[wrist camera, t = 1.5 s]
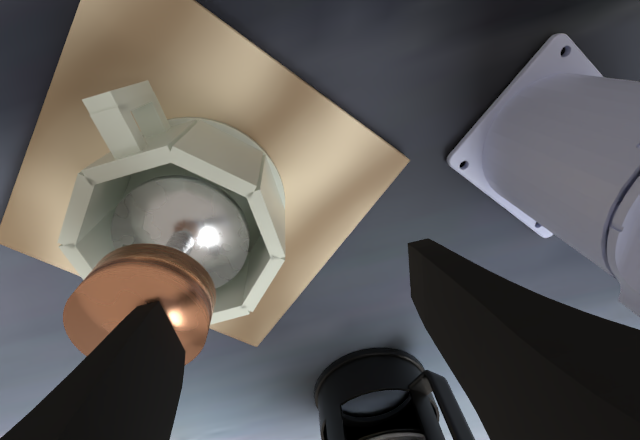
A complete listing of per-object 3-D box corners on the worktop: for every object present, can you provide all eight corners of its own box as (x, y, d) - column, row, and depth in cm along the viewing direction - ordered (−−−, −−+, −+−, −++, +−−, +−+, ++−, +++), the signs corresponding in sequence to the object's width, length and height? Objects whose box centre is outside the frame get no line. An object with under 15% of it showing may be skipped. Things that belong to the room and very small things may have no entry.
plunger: (266, 267, 16) (259, 366, 11) (156, 297, 17) (101, 407, 12) (221, 158, 14) (185, 225, 9) (90, 196, 14) (-17, 281, 9)
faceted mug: (304, 245, 20) (310, 303, 16) (163, 284, 21) (130, 351, 16) (238, 53, 15) (220, 57, 11) (54, 108, 16) (-37, 134, 11)
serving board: (404, 154, 19) (410, 160, 18) (257, 336, 25) (256, 347, 24) (115, -59, 14) (103, -66, 13) (7, 232, 19) (-6, 241, 18)
